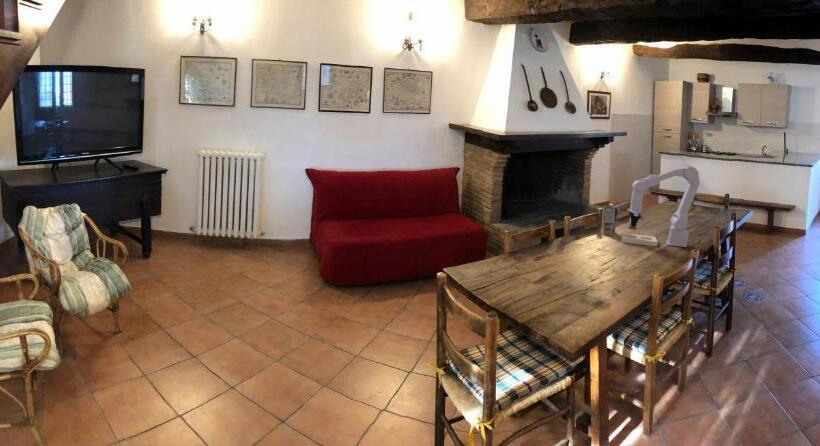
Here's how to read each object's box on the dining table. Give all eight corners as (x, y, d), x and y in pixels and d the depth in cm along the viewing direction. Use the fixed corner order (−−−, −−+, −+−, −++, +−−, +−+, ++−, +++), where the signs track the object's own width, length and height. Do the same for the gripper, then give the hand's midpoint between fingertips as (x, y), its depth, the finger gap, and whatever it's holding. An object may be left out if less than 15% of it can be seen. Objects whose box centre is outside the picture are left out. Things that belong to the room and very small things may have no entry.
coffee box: (614, 235, 294) (618, 208, 290) (602, 234, 295) (606, 208, 291) (611, 231, 302) (615, 205, 298) (600, 230, 304) (603, 204, 299)
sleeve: (636, 228, 284) (637, 217, 283) (636, 230, 281) (638, 219, 279) (628, 227, 286) (629, 216, 284) (628, 229, 282) (630, 218, 280)
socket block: (654, 240, 286) (655, 236, 286) (656, 246, 276) (657, 242, 276) (620, 237, 292) (620, 232, 291) (621, 242, 281) (622, 238, 281)
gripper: (627, 198, 287) (624, 221, 291) (629, 204, 274) (626, 228, 277) (641, 200, 285) (637, 223, 289) (643, 205, 272) (640, 229, 275)
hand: (632, 225), depth 283 cm, fingers closed on sleeve, 4 cm apart
